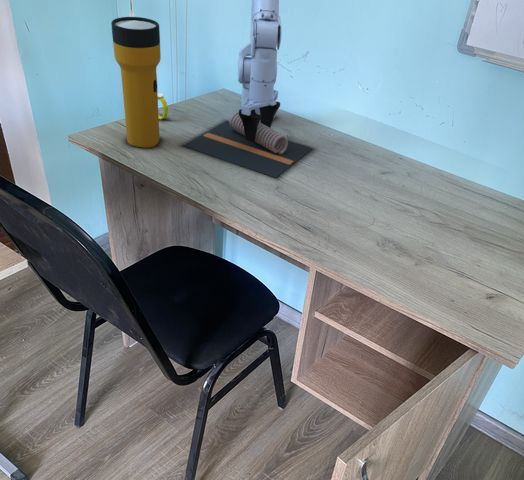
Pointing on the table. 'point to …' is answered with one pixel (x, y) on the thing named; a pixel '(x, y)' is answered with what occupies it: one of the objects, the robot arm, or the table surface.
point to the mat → (246, 151)
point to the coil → (262, 135)
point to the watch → (161, 98)
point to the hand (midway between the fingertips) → (257, 135)
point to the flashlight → (138, 76)
